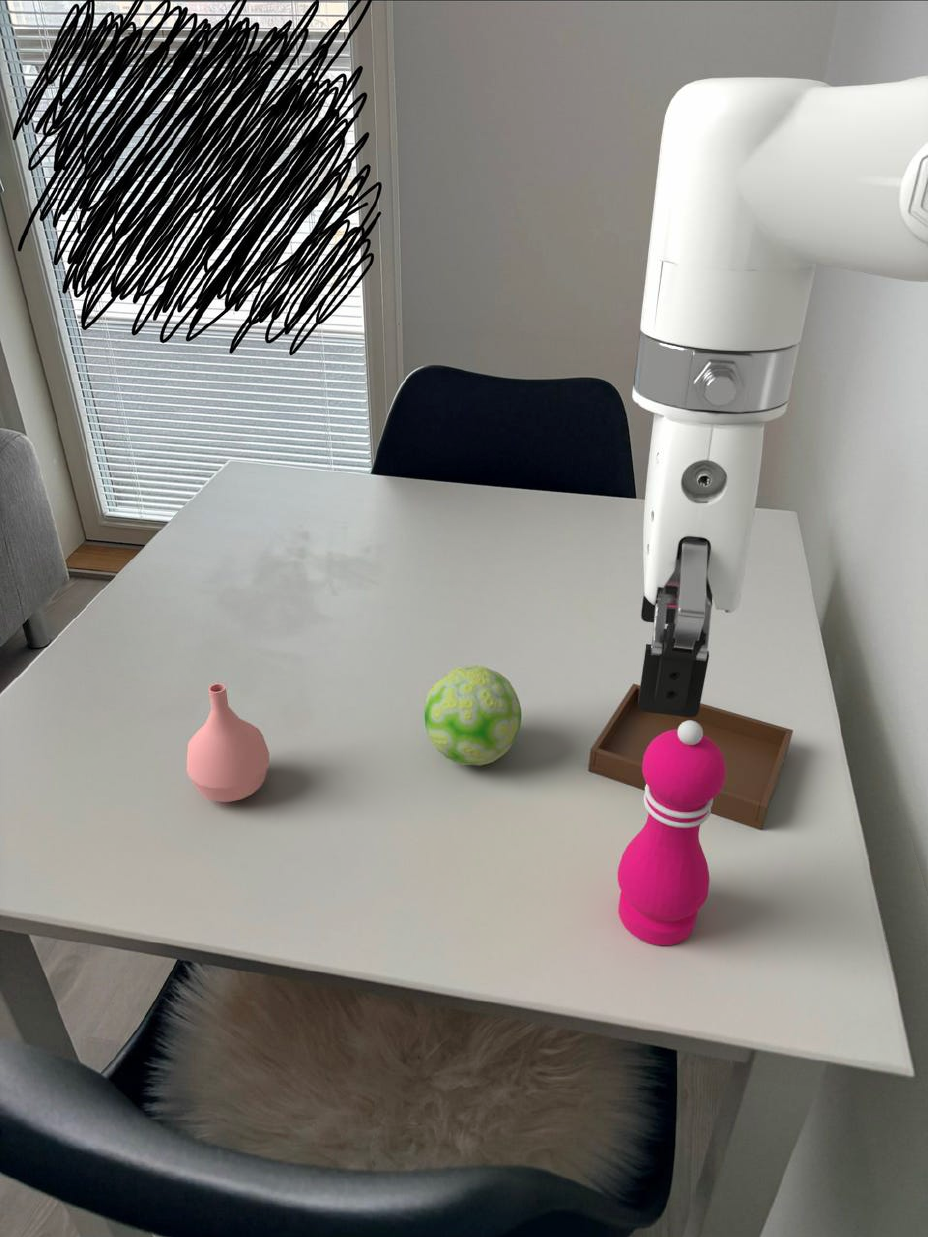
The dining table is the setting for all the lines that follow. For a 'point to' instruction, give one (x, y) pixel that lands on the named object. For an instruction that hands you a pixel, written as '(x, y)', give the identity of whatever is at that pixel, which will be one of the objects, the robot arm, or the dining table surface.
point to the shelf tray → (741, 739)
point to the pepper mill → (671, 837)
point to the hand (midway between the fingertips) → (666, 663)
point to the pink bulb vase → (226, 753)
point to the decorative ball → (472, 715)
